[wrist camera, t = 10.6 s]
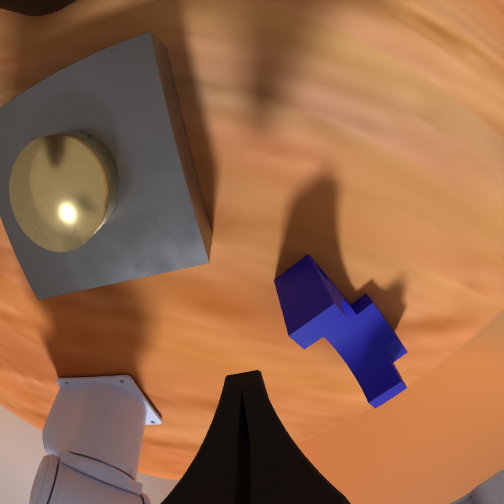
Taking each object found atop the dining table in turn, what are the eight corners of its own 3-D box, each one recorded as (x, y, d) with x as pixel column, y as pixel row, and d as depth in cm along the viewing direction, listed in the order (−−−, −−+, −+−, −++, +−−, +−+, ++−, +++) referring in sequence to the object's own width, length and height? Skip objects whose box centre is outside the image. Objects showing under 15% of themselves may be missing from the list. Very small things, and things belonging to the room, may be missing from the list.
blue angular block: (393, 330, 24) (422, 376, 19) (353, 358, 26) (375, 408, 20) (324, 239, 20) (357, 285, 15) (273, 279, 21) (288, 335, 16)
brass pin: (77, 224, 18) (35, 263, 13) (50, 147, 15) (-3, 164, 10) (150, 199, 17) (120, 234, 12) (123, 113, 15) (80, 114, 10)
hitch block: (62, 270, 19) (38, 300, 16) (12, 120, 14) (-24, 126, 11) (212, 233, 19) (209, 262, 15) (166, 48, 14) (150, 31, 10)
